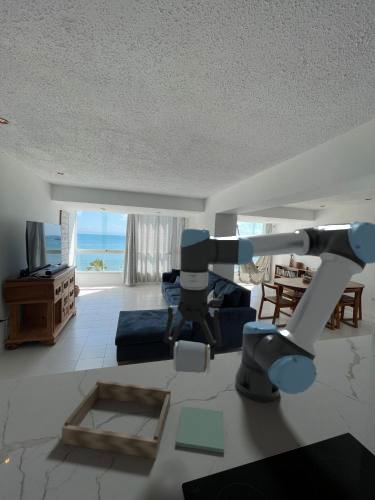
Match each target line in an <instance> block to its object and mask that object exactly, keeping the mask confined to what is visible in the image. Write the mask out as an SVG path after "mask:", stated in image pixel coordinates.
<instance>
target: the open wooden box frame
mask: <svg viewBox="0 0 375 500" xmlns="http://www.w3.org/2000/svg"><path fill="white" fill-rule="evenodd" d="M171 392H172V389H171V388H169V389H168V388H162V387H155V386H154V387H152V386H146V385H139V384H129V383H122V382H117V381H116V382H113V381H106V380H98V379H97V381H96V382H95V385H93V387H92V388H91V390H90V391H89V392H88V393H87V394H86V396H85V397H84V398H83V400H82V401H81V402H80V403H79V404H78V406H77V407H76V408H75V409H74V410H73V412H71V414H70V415H69V417H67V419H66V420H65V422H64V424H63V426H62V427H61V444H63V445H70V446H76V447H77V446H78V447H82V448H88V449H96V450H100V451H107V452H112V453H113V452H114V453H117V454H118V453H119V454H124V455H129V456H130V455H132V456H138V457H142V458H143V457H144V458H150V459H157V456H158V452H159V449H160V445H161V441H162V437H163V434H164V429H165V427H166V422H167V419H168V413H169V410H170V407H171ZM99 399H106V400H114V401H119V402H120V401H121V402H127V403H135V404H143V405H149V406H157V407H162V408H161V411H160V415H159V418H158V421H157V424H156V428H155V431H154V433H153V437H148V436H142V435H136V434H129V433H122V432H116V431H111V430H104V429H97V428H90V427H84V426H80V424H81V423H82V422H83V421H84V419H85V418H86V416H87V415H88V413H90V412H91V409H92V408H93V406H94V405H95V404H96V402H97V401H98V400H99Z"/></svg>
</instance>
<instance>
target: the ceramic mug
mask: <svg viewBox="0 0 375 500" xmlns="http://www.w3.org/2000/svg"><path fill="white" fill-rule="evenodd" d="M207 348H208V345H207V344H205V343H202V342H196V341H195V342H194V341H189V340H188V341H187V340H178V349H177V360H176V370H175V371H176V372H181V373H182V372H184V373H198V374H199V373H205V372H207Z"/></svg>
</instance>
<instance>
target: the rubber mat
mask: <svg viewBox="0 0 375 500" xmlns="http://www.w3.org/2000/svg"><path fill="white" fill-rule="evenodd" d="M223 422H224V421H223V411H222V410H221V411H220V410H215V409H214V410H213V409H207V408H200V407H192V406H185V405H184V406H183V405H182V407H181V411H180V417H179V423H178V427H177V428H178V429H177V434H176V440H175V447H180V448H181V447H182V448H188V449H196V450H199V451H200V450H202V451H207V452H213V453H220V454H225V441H224V425H223V424H224V423H223Z"/></svg>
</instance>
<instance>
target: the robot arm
mask: <svg viewBox="0 0 375 500" xmlns="http://www.w3.org/2000/svg"><path fill="white" fill-rule="evenodd" d="M180 239H181V241H180V267H179V268H180V271H179V284H180V286H181V287H180V288H179V302H178V305H173V304H169V306H168V308H167V314H168V317H167V322H166V326H165V331H164V336H163V342H164V343H165V344H166V343H167V344H169V346H170V348H169V355H170V357H173V371H176V360H177V349H178V343H179V341H177V339H178V338H179V336H180V334H181V332H182V330H183V328H184V325H185V323H187V322H188V323H191V322H194V323H199V325H200V327H201V329H202V331H203V334H204V336H205V338H206V340H207V343H208V344H207V368H206V374H210V372H211V371H210V369H211V361H214V360H215V352H216V348H221V347H222V336H221V330H220V325H219V324H220V323H219V314H220V310H219V308H218V307H210V306H209V304H208V300H209V299H208V298H209V296H208V295H209V289H208V286H209V267H210V265H211V266H212V265H213V266H215V265H221V266H222V265H223V266H225V265H227V266H229V265H232V266H236V265H237V266H241V265H249V264H251V262H252V260H253V258H256V257H266V256H268V257H269V256H280V255H282V256H283V255H291V254H294V255H296V256H299V257H304V256H312V257H319V258H320V260H321V263H320V264H319V266H318V269H317V270H316V272H315V273H314V275H313V277H312V279H311V280H310V282H309V284H308V286H307V288H306V290H305V291H304V293H303V295H302V297H301V298H300V300H299V302H298V303H297V305H296V307H295V309H294V311H293V313H292V314H291V316H290V318H289V319H288V322H286V325H285V327H283V328H280V329H279V328H278V326H276V325H275V324H273V323H269V322H264V321H250V322H246V323H245V324H244V325H243V328H242V329H243V330H242V345H241V362H240V365H239V366H238V369H237V371H236V374H235V380H234V381H235V382H234V384H235V387H236V389H237V391H239V392H240V393H241V394H242V395H243V396H244V397H247V398H248V399H250V400H253V401H255V402H256V401H257V402H260V403H261V402H263V403H265V402H266V403H268V402H273V401H275V400H276V399H278V397H280V391H281V392H283V393H285V394H287V395H298V394H299V393H301V394H302V393H304V392H306V391H307V390H309V389H310V388H311V387H312V386H313V384H314V383H315V381H316V379H317V367H316V365H315V363H314V359H315V357H316V356H317V353H316V350H315V345H316V342H317V341H318V338H320V336H321V333H322V332H323V329H325V326H326V325H327V324H328V321H329V319H330V318H331V316H332V313H333V312H334V311H335V309H336V306H337V304H338V302H339V301H340V300H341V298H342V296H343V294H344V291H345V290H346V288H347V286H348V285H349V282H350V281H351V279H352V278H353V276H354V275H358V274H361V273H363V272H364V269H365V267H366V266H367V264H368V265H369V264H375V224H374V223H372V222H369V221H365V222H364V221H362V222H361V221H353V222H346V223H344V222H343V223H332V224H331V223H328V224H322V225H317V226H313V227H307V228H297V229H296V230H294V231H291V232H290V231H289V232H277V233H265V234H262V233H261V234H247V235H234V236H233V235H232V236H220V237H219V236H211V235H210V231H209V229H206V228H205V229H204V228H186V229H183V230H182V232H181V238H180ZM177 311H178V312H179V313H180V315H181V316H182V317H181V319H180V321H179V323H178V326H177V327H176V329H175V332H174V333H173V335H172V336H171V332H172V328H173V323H174V320H175V315H176V313H177ZM208 313H209V314H210V317H212V321H213V322H212V323H213V329H214V335H215V339H214V337H213V335H212V332H211V330H210V328H209V325H208V322H207V321H206V320H207V319H206V316H207V314H208Z"/></svg>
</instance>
